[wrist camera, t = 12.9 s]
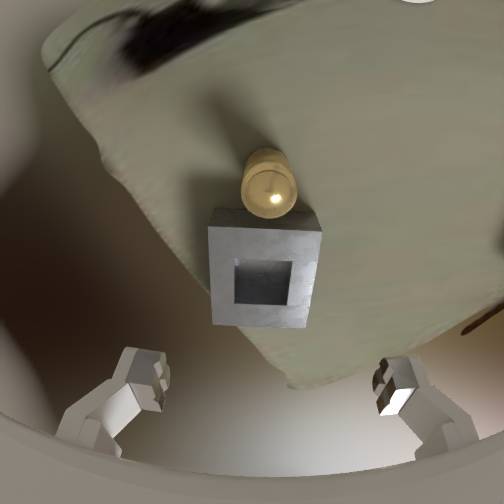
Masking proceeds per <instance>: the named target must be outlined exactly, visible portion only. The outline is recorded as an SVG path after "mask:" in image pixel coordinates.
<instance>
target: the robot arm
mask: <svg viewBox="0 0 504 504" xmlns="http://www.w3.org/2000/svg"><path fill="white" fill-rule="evenodd" d="M403 1H407V2H413V3H425V2H430V1H433V0H403ZM165 362H166V355H165V353H163V352H157V351H150V350H144V349H138V348H131V347H126V348H125V349H124V351H123V353H122V355H121V358H120V360H119V363H118V365H117V367H116V370H115V372H114V375H113V377H112V380H111V379H108V380H106V381H105V382H104V383H102V384H101V385H99V386H98V387H97V388H95V389H94V390H93V391H91V392H90V393H89V394H87V395H86V396H84V397H83V398H82V399H80V400H79V401H78V402H76V403H75V404H73V405H72V406H71V407H69V408H68V409H66V411H65V413H64V416H63V418H62V420H61V423H60V425H59V428H58V430H57V433H56V435H55V437H54V436H51V435H49V434H47V433H44V432H42V431H39V430H37V429H35V428H32V427H30V426H28V425H26V424H23V423H21V422H19V421H17V420H15V419H13V418H11V417H9V416H7V415H5V414H3V413H1V412H0V504H504V430H503V431H501V432H499V433H497V434H494V435H492V436H490V437H487V438H484V439H482V440H479V437H478V435H477V432H476V429H475V427H474V424H473V421H472V418H471V416H470V415H469V414H468V413H467V412H465V411H464V410H463V409H462V408H460V407H459V406H458V405H457V404H456V403H454V402H453V401H452V400H451V399H450V398H448V397H447V396H446V395H445V394H443V393H442V392H441V391H440V390H439V389H437V388H436V387H435V386H431V385H430V382H429V380H428V377H427V375H426V373H425V370H424V367H423V365H422V363H421V361H420V358H419V356H418V355H409V356H396V357H384V358H382V359H381V361H380V363H379V365H380V368H379V369H377V370H376V371H375V373H374V375H373V380H372V386H373V391H374V393H375V394H376V395H377V396H378V399H377V401H376V403H377V407H378V411H379V415H388V414H397V413H398V415H399V416H400V417H401V418H402V419H403V421H404V422H405V423H406V424H407V425H408V426H409V427H410V429H411V430H412V431H413V432H414V433H415V434H416V435H417V436H418V438H419V439H420V440H421V441H422V442H423V444H422V445H421V446H420V447H419V448H418V449H417V450H416V451H415V458H416V460H415V461H410V462H406V463H402V464H397V465H392V466H387V467H382V468H376V469H370V470H364V471H357V472H349V473H341V474H331V475H319V476H302V477H245V476H228V475H215V474H206V473H197V472H190V471H182V470H176V469H170V468H164V467H158V466H154V465H149V464H144V463H139V462H135V461H131V460H126V459H123V458H120V455H121V451H122V450H121V448H120V447H119V445H118V444H117V443H116V442H115V441H114V439H113V438H114V437H115V436H116V435H117V434H118V433H119V432H120V431H121V430H122V428H124V427H125V426H126V425H127V424H128V423H129V422H130V421H131V420H132V419H133V418H134V417H135V416H136V415H137V414H138V413H139V412H140V411H141V409H145V410H152V411H158V412H162V409H163V406H164V402H165V395H164V391H165V390H166V389H168V386H169V380H170V370H169V366H168V365H167V364H166V363H165Z"/></svg>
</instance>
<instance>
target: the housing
mask: <svg viewBox="0 0 504 504" xmlns="http://www.w3.org/2000/svg"><path fill="white" fill-rule="evenodd" d="M321 237H322V230H321V227H320V224H319V222H318V219H317V216H316V214H315V213H308V212H291V211H288V212H287V213H286V214H284V215H282V216H280V217H277V218H262V217H259V216H256V215H254V214H253V213H251V212H250V211H249V210H248V209H224V208H214V211H213V214H212V216H211V219H210V222H209V224H208V245H209V268H210V287H211V302H212V303H211V304H212V320H213V324H214V325H229V326H248V327H273V328H305V326H306V321H307V316H308V311H309V306H310V301H311V295H312V290H313V285H314V279H315V273H316V268H317V262H318V256H319V250H320V244H321Z"/></svg>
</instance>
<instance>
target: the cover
mask: <svg viewBox="0 0 504 504" xmlns="http://www.w3.org/2000/svg"><path fill="white" fill-rule="evenodd" d="M297 194H298V190H297V185H296V181H295V179H294V176H293V173H292V170H291V167H290V164H289V161H288V159H287V158H286V156H285V155H284V154H283V153H282V152H280V151H279V150H277V149H274V148H261V149H259V150H256V151H255V152H253V153H252V154H251V155H250V157H249V158H248V160H247V162H246V166H245V171H244V176H243V181H242V186H241V198H242V201H243V203H244V205H245V206H246V208H247V209H248V210H249V211H250V212H251V213H253V214H254V215H256V216H259V217H262V218H277V217H280V216H282V215H284V214H286V213H287V212H288V211H289V210H290V209H291V208H292V207H293V206H294V204H295V202H296V199H297Z"/></svg>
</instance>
